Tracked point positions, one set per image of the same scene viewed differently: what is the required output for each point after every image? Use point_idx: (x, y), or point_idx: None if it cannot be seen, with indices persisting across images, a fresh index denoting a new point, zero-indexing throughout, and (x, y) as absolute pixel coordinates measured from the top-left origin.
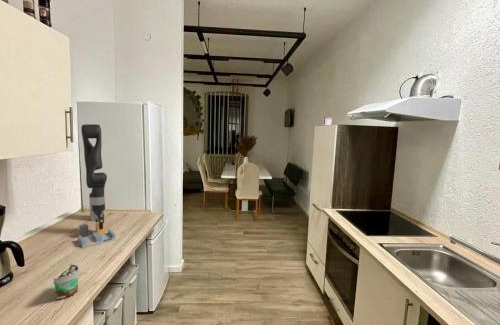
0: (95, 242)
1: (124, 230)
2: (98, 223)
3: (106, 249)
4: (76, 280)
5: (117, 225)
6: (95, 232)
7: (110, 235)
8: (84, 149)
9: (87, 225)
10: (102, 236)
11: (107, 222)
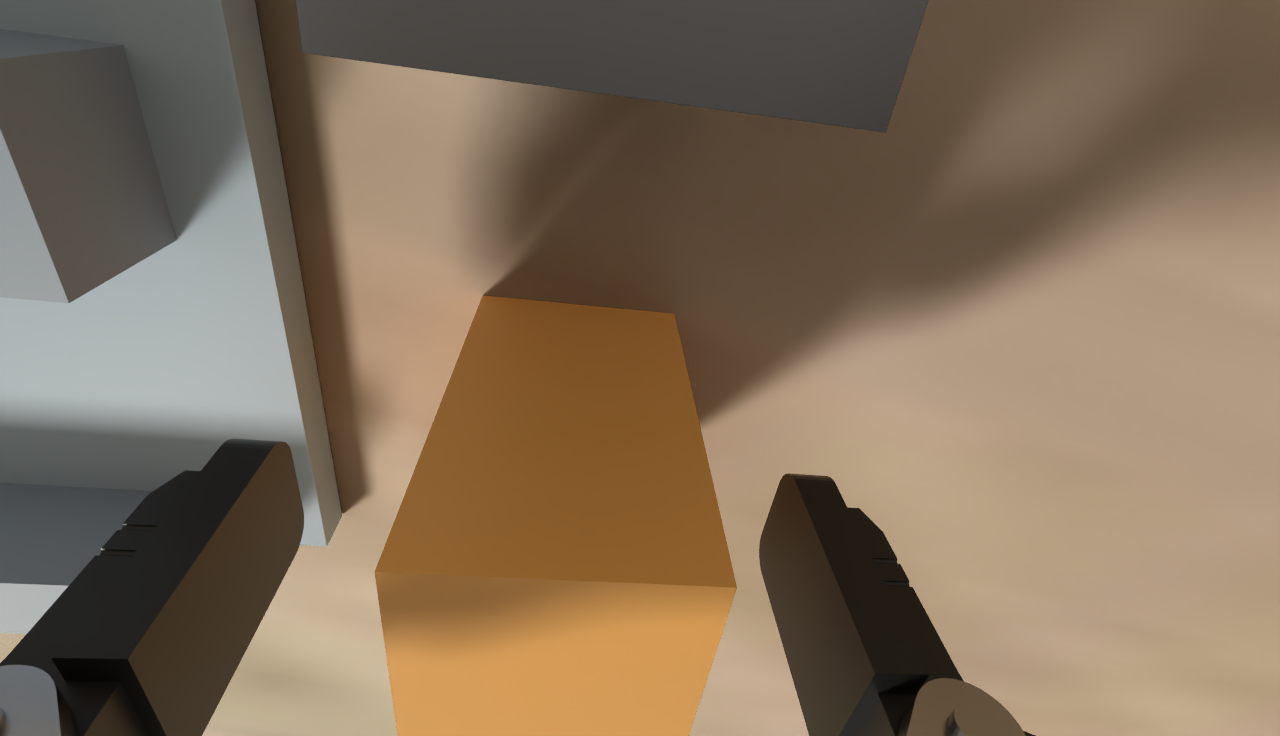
0: None
1: (369, 712)
2: (422, 633)
3: None
4: None
5: (736, 707)
6: (8, 215)
7: None
8: None
9: (416, 35)
10: (18, 324)
11: (1061, 652)
